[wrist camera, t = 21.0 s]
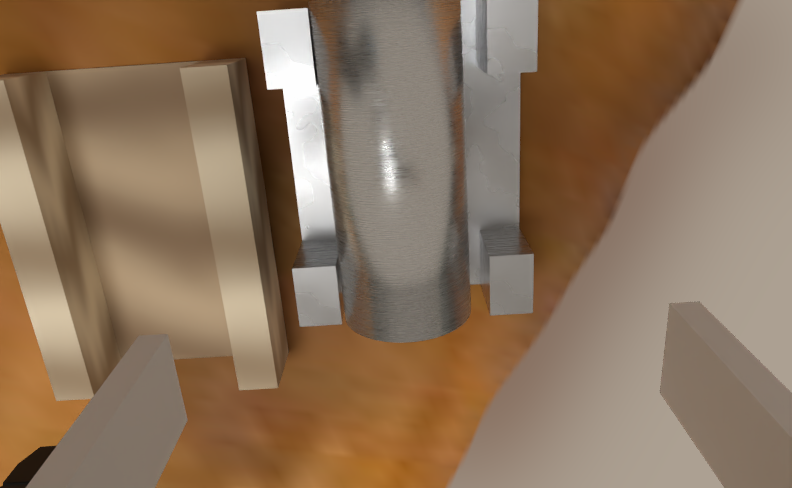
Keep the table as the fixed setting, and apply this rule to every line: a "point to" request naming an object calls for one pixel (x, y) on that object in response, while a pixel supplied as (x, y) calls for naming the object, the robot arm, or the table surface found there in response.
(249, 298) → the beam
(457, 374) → the table surface
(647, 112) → the table surface
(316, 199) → the cradle
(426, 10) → the axle
